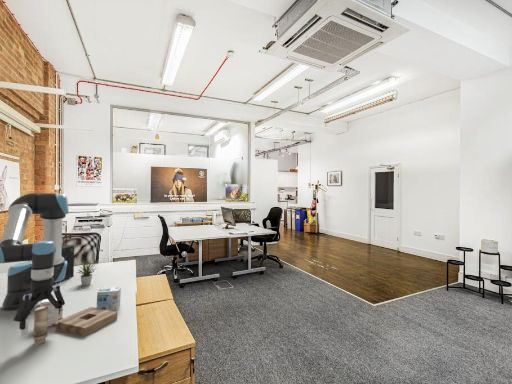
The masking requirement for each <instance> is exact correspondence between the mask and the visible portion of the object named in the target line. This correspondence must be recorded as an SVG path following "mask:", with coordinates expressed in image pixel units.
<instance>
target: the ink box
mask: <svg viewBox="0 0 512 384" xmlns="http://www.w3.org/2000/svg"><path fill="white" fill-rule="evenodd" d="M54 298H55V299H56V297H54ZM56 301H57V299H56ZM57 302H58V301H57ZM40 307H48V317H47V327H51V326H56V324H54V323H52V312H53V308H55V307H54V306H53V305H52V304H51V302H50V301H49V300H48V299H45V300H42V301H40ZM63 316H64V305H62V308H60V315H58V320H61V319H63V318H64V317H63Z"/></svg>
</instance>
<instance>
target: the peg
mask: <svg viewBox="0 0 512 384" xmlns="http://www.w3.org/2000/svg"><path fill="white" fill-rule="evenodd" d="M33 315H34V319H33V320H34V321H33V340H34V345H41V344H44V343H45V342H46V337H48V326H47V317H48V307H41V306H39V307H37V308H34V314H33Z"/></svg>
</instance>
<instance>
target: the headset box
mask: <svg viewBox="0 0 512 384" xmlns="http://www.w3.org/2000/svg"><path fill="white" fill-rule="evenodd" d="M61 256H62V257H63V258H64V261H67V267H66V273H65V277H64V279H63V280H62V281H58V282H53V286H54V285H58V284H59V283H62V282H64V281H67V280H68V279H71V278H73V277H74V271H75V245H73V244H71V245H67V244H62V251H61Z"/></svg>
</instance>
